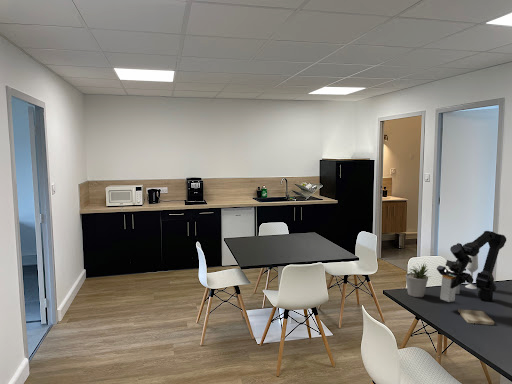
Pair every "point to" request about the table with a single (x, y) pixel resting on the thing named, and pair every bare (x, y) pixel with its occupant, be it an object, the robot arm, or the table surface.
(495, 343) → the table surface
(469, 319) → the birch board
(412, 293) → the potted plant
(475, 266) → the champagne flute
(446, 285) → the aluminium block
